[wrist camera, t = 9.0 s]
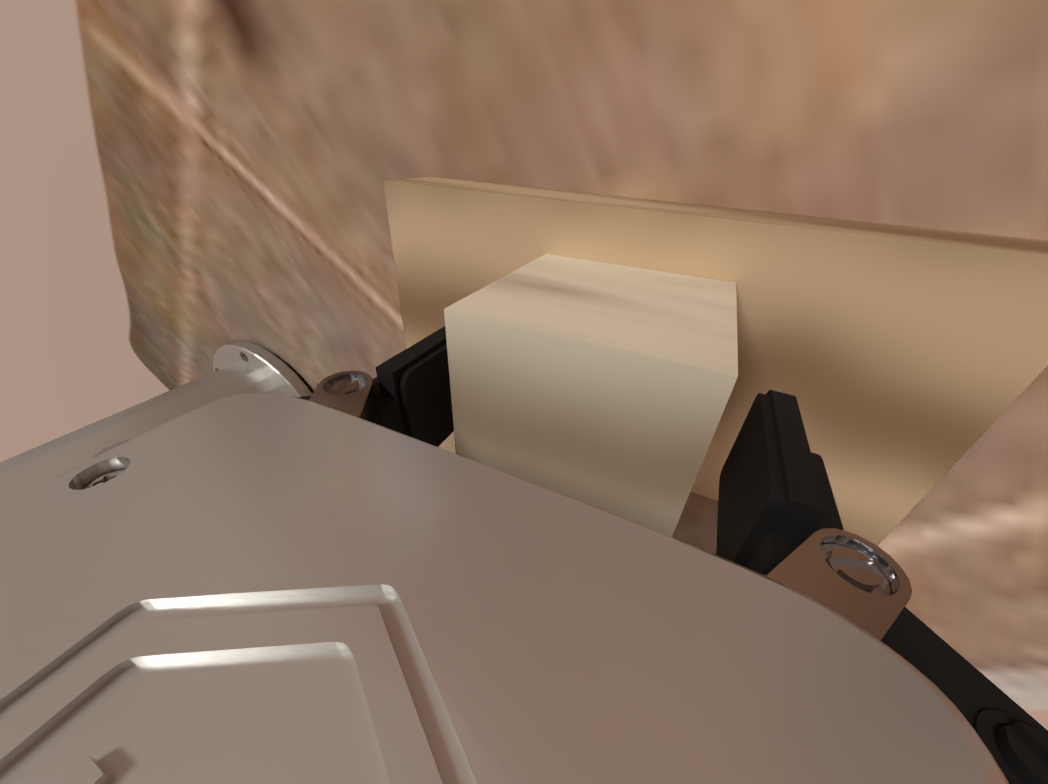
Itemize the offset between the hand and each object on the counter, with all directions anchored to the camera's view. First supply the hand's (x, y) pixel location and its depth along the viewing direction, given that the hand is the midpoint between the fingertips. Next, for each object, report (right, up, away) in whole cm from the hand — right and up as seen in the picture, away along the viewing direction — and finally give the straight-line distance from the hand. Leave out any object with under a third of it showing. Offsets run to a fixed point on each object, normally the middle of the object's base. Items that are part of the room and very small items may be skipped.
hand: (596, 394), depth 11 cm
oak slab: (+3, +3, +5) cm, 7 cm away
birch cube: (+1, +2, +2) cm, 3 cm away
